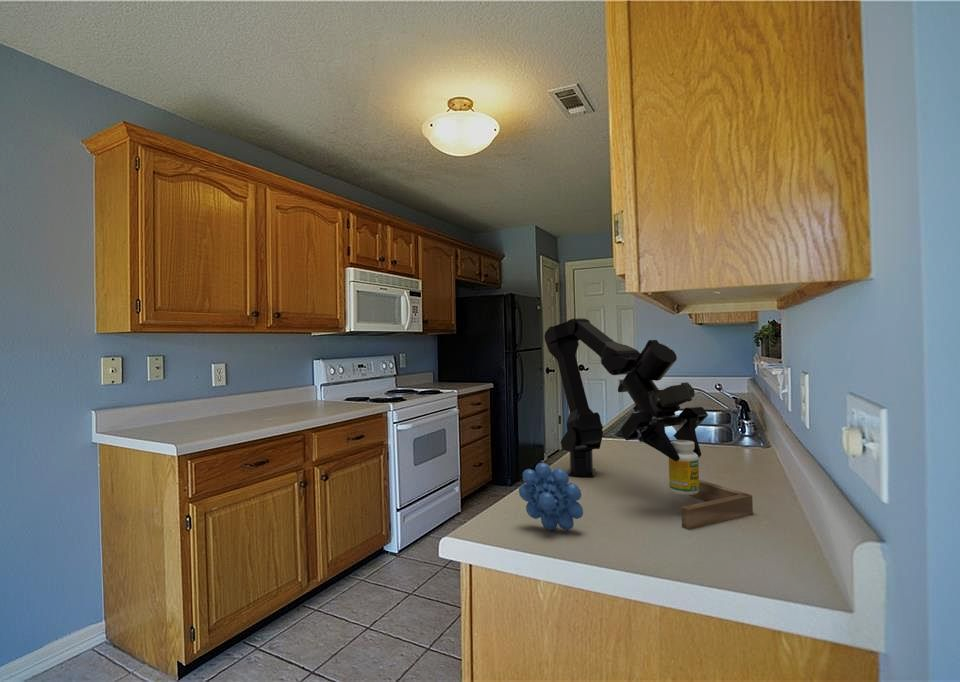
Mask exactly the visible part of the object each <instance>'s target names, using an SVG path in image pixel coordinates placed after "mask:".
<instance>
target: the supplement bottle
mask: <svg viewBox="0 0 960 682" xmlns="http://www.w3.org/2000/svg"><path fill="white" fill-rule="evenodd" d="M671 443H672V445H673V446H674V448H675V449H676V451H677V453H678V455H679V457H680V459H679V460H678V461H674V460H672V459H671V458H669V457H668V485H669V487H668V488H669V490H670V491H671V492H672V493H674V494H678V495H683V496H684V495H685V496H689V495H693V494H697V493H698V492H699V480H700V475H699V474H700V473H699V469H700V468H699V464H700V463H699V458H698V455H697V454H696V453H695V452H693V450H694V448H695V445H694V442H693V441H688V440H677V439H674V440H672V441H671Z"/></svg>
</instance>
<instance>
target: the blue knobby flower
mask: <svg viewBox="0 0 960 682" xmlns="http://www.w3.org/2000/svg"><path fill="white" fill-rule="evenodd" d="M567 473H568V472H567V471H566V470H565V469H563V468H560V467H556V468H554V469H553V470H552V468H551V467H550V466H549V464H547V463H544V462H539V463H537V464H536V466H535V470H534V469H530V468H527V469H525V470H524V471H523V472H522V481H523V482H524V484H521V485H520V486H519V488H518V493H519V496H520V498H521V499H522V500H523V501H525V502H527V503H526V505H525V509H526V513H527V515H528V516H529V517H530V518H532V519H534V520H537V519H540V521H541V524H542V526H543V528H545V529H546V530H549V531H553V530H555V529H557V527H558V526H559V528H561V529H562V530H564V531H569V530H572V529H573V528H574V524H575V523H574V519H575V520H579V519H581V518H582V517H583V515H584V509H583V506H582V505H581V504H580V503H579V502H578V501H580V500H581V498H582V490H581V489H580V488H579V486H578V485H577V484H575V483H572V482H569V481H570V479H569V476H568V474H567Z"/></svg>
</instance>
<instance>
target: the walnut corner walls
mask: <svg viewBox="0 0 960 682" xmlns="http://www.w3.org/2000/svg"><path fill="white" fill-rule="evenodd" d="M689 496H690V497H693V498H695V499H699V500H701V501H703V502H699V503H694V504H690V505H686V506H681V527H682V528H683V529H686V530H688V531H690V530H694V529H699V528H701V527H706V526H710V525H714V524H717V523H723V522H725V521H730V520H733V519H739V518H742V517H745V516H751V515H753V514H754V510H753V508H754V506H753V495H752V494H749V493H746V492H743V491H739V490H736V489H732V488H729V487H726V486H722V485H719V484H716V483H712V482H709V481H705V480H702V479H699V492H698V493H697V494H693V495H688V497H689ZM750 514H751V515H750Z"/></svg>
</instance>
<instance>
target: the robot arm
mask: <svg viewBox="0 0 960 682" xmlns="http://www.w3.org/2000/svg"><path fill="white" fill-rule="evenodd" d="M544 341H545V343H546V346H547V349H548V352H549V353H550V355H552V357H554V358H555V360H556V362H557V364H558V368H559V369H558V370H559V373H560V378H561V382H562V386H563V390H564V394H565V399H566V402H567V407H568V411H569V414H568V418H567V421H566V432H565V434H564V435H563V437H562V438H561V440H560V446H561V449H562V450H563V451H566V452H568V453H569V469H568V472H566V473H567V474H568V477H572V476H573V477H589V478H590V477H591V478H594V477H595V474H596V468H594V462H593V460H594V459H593V450H600V448H601V444H602V440H603V437H604V431H603V429H604V426H603V424H602V420H601V416H600V413H599V412H594V411H592V409H591V408H590V407H589V402H588V400H587V395H586V391H585V388H584V384H583V379H582V375H581V371H580V368H579V365H578V364H579V363H578V361H577V357H576V355H577V352H578V349H579V345H580V343H579V341H581V342H582V343H583V344H584V345H585V346H587V347H588V348H589V349H591V350H592V351H593V352H594V353H595V355H597V356H599V358H600V363H601V365H602V366H603V368H604V369H605V370H606V372H608V374H609V375H611V376H623V375H625V376H624V378H623V379H619V385H618V387H617V392H618V393H625V392H626V393H628V394H629V397H630V399H631V400H632V401H633V402H634V404H635V405H634V407H633V410H634V412H632V413H631V414H629V416H628V417H627V419H626V420H625V421H624V422H623V424H622V425H621V426H620V427H621V428H620V432H621V435H622V436H623V437H624V439H625V441H627V442H628V441H633V440H637V439H638V442H640V443H644V444H645V445H647V446H650V447H651V448H653V449H655V450H657V451H659V452H660V453H661V454H662V455H665V456H666V457H668V459H669V458H671V459H672V460H674V461H678V460H679V459H680V457H679V455H678V453H677V451H676V449H675V448H674V446H673V445H672V441H671V440H670V437H668V435H667V433H666V428H668V427H672V428H673V429H674V431H676V432H675V433H674V434H673V437H674V438H675V440H688V441H693V442H694V445H695V448H694V450H693V452H695V453H696V454H697V455H698V459H700V458H701V457H702V452H701V448H700V445H699V441H698V437H697V433H696V429H697V428H698V427H699V426H700V425H701V424H702V423H703V421H705V419H706V418H707V417H708V416H709V414H708V412H707V411H706V410H705V408H704V406H698V405H697V406H686V407H685V408H684V409H683V410H682V411H681V412H680V413H679V415H678V414H676V412H679V410H681V406H680V405H682V404H685V403H687V402H691V401H692V400H693V398H694V397H695V394H696V393H695V389H694V388H693V387H692V385H691V384H690V383H689V382H688V381H687V382H681V383H680V384H676V385H674V384H673V385H669V386H667V387H665V388H663V389H659V388H658V386H657V385H656V383H655V382H656V381H657V382H658V381H661V380H662V379H663V378H664V377H665V375H666V374H667V372H669V370H670V369H671V367H672V366H673V365H674V364H675V362H676V361H677V358H678V356H677V355H676V353H675V351H674V350H673V349H671V348H670V347H669V346H667V345H665V344H662V343H660V342H659V341H658V340H657V339H648V340H647V342H646V344H645V347H644V348H643V349H642V351H641V352H639V351H638V350H637V349H636V348H633V347H631V346H629V345H626V344H622V343H618V342H616V341H614V340H613V338H610V337H609V336H608V335H606V334H605V333H604V332H603V331H601V330H600V329H598V328H597V326H595V325H593V323H591V321H590V320H589V319H587V318H584V317H581V318H580V317H579V318H575V317H574V318H571V319H569V320H567V321H565V322H562V323H559V324H556V325H552V326H549V327H548V328H547V330H546V331H545V332H544ZM654 381H655V382H654ZM665 427H666V428H665ZM638 431H639V432H640V433H639V432H638ZM639 434H640V435H641V436H640V437H639Z"/></svg>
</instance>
